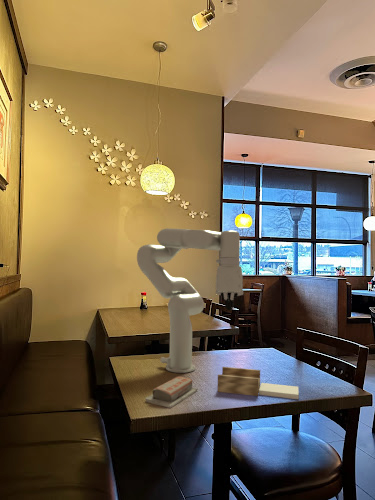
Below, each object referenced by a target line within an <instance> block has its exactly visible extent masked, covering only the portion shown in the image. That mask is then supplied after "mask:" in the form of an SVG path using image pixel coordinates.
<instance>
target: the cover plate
mask: <svg viewBox="0 0 375 500" xmlns="http://www.w3.org/2000/svg"><path fill="white" fill-rule="evenodd" d="M258 396H267V397H268V396H269V397H275V398H283V399H284V398H285V399H293V400H294V399H295V400H299V397H300V395H299V386H297V385H296V386H295V385H284V384H275V383H266V382H260V389H259V395H258Z"/></svg>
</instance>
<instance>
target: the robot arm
mask: <svg viewBox="0 0 375 500" xmlns="http://www.w3.org/2000/svg"><path fill="white" fill-rule="evenodd" d="M240 236H241V235H240V232H239V231H237V230H223V231H220V232H219V231H214V230H208V229H207V230H206V229H189V228H169V227H167V228H163V229H161V230H159V232H157V236H156V240H157V242H158V244H151V243H149V244H145V245H141V246H140V247H139V248H138V250H137V253H136V261H137V265H138V267H139V269H140V271H141V272H142V273H143V274H144V276H145V277H146V278H147V279H148V280H149V282H151V285H152V286H154V288H155V290H157V292H158V293H159V295H160V296H161V297H162V298H163V299H164V298H165V299H169V300H168V303H167V309H168V316H169V356H167V357H163V356H161V357H160V362H161V363H162V364H166V365H165V370H167V372H171V373H176V374H177V373H179V374H180V373H181V374H182V373H183V374H184V373H185V374H186V373H191V372H193V371H195V370H196V364H193V363H192V361H193V360H192V359H193V350H192V349H193V326H192V325H193V324H192V322H191V318H190V316H194V315H198V314H201V313H202V312H203V310H204V307H205V303H204V298H203V297H202V295H201V294H200V293H199V292H198V290H197V289H196V288H195V287H194V286H193V285H192V284H191V282H190V281H189V280H188V279H186V278H184V277H183V276H172V275H170V274H169V273H168V271H167V270H166V269H165V268H164V267H163V266H161V265H160V264H166V263H168V262H170V261H171V260H172V259H174V257H175V256H176V255H177V254H178V253H179V252H180V251H182V249H183V250H187V249H195V250H196V249H197V250H198V249H199V250H208V251H209V250H210V251H219V259H218V258H217V259H216V260H215V262H216V264H219V265H218V266H217V267H216V268H217V269H216V276H215V295H218V296H221V298H223V299H224V303H225V304H224V308H225V309H226V311H229V312H230V311H232V310H233V309H234V300H235V299H236V298H237V297H239V296H243V295H244V291H243V289H244V284H243V283H244V281H243V271H242V270H243V269H242V266H240V250H241V249H240V247H241V246H240V239H241V238H240ZM228 293H230V298H229V295H228Z"/></svg>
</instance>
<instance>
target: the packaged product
mask: <svg viewBox="0 0 375 500" xmlns="http://www.w3.org/2000/svg"><path fill="white" fill-rule="evenodd" d="M198 390H199V389H198V388H195V387H193V379H191V378H190V377H185V376H179V375H178V376H176V377H173V378H171V379H170V380H168V381H166V382H164V383H162V384H160V385H158V386H157V387H155V388H153V389H152V393H151V394H150V395H148V396H146V397H145V398H144V399H145V400H144V401H145V402H146V403H147V404H153V405H156V406H161V407H164V408H169V409H171V408H174V407H175V406H176V405H178V404H179V403H181V402H183V401H184V400H186V399H188V398H189V397H190V396H192V395H193V394H195V393H196V392H198Z"/></svg>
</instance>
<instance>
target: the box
mask: <svg viewBox="0 0 375 500" xmlns="http://www.w3.org/2000/svg"><path fill="white" fill-rule="evenodd" d="M260 385H261V370H260V369H253V368H244V367H243V368H241V367H231V366H230V367H229V366H222V374H217V392H218V393H228V394H235V395H236V394H237V395H244V396H254V397H255V396H256V397H259V396H260V395H259V389H260Z"/></svg>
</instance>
